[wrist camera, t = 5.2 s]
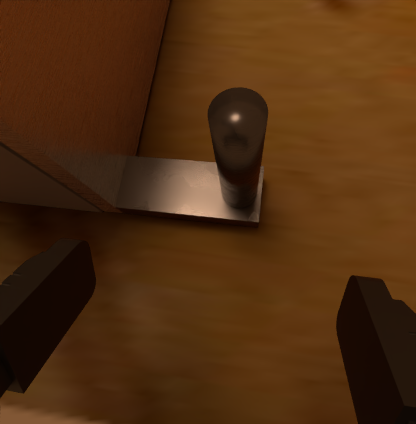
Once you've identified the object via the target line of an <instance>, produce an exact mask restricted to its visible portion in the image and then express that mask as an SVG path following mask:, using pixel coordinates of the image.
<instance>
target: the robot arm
mask: <svg viewBox="0 0 416 424" xmlns="http://www.w3.org/2000/svg"><path fill="white" fill-rule="evenodd" d="M95 285H96V277H95V272H94V267H93V262H92V257H91V252H90V247H89V244H88V243H87V242H86V241H82V240H74V239H66V238H61V239H59V240H58V241H57V242H56V243H55V244H54V245H52V246H51V247H50V248H49V249H48V250H47V251H46V252H42V253H40V254H38V255H36V256H34V257H32V258H30V259H29V260H27V261H25V262H24V263H23V264H22V265H21V266H20V267H19V268H18V269H16V270H15V271H14V272H13V275H10V276H9V277H8V278H6V279H5V280H4V281H3V282H2V285H0V398H1V396H2V395H3V394H4V393H5V391H6V390H9V391H13V392H18V393H23V394H24V392H25V391H26V390H27V388H28V387H29V385H30V384H31V382H32V381H33V380H34V378H35V377H36V375H37V374H38V372H39V371H40V370H41V368H42V367H43V365H44V364H45V362H46V361H47V360H48V358H49V357H50V355H51V354H52V352H53V351H54V350H55V348H56V347H57V345H58V344H59V342H60V341H61V340H62V338H63V337H64V335H65V334H66V332H67V331H68V330H69V328H70V327H71V325H72V324H73V322H74V321H75V320H76V318H77V317H78V315H79V314H80V312H81V311H82V310H83V308H84V307H85V305H86V304H87V302H88V301H89V300H90V298H91V297H92V295H93V292H94V289H95ZM336 329H337V336H338V341H339V345H340V349H341V353H342V358H343V362H344V366H345V370H346V375H347V379H348V383H349V387H350V391H351V396H352V400H353V404H354V408H355V413H356V417H357V421H358V424H416V314H415V313H414V312H413V311H412V310H411V309H410V308H409V307H408V306H407V305H406V304H405V303H404V302H403V301H402V300H394V299H392V297H391V295H390V293H389V291H388V289H387V287H386V285H385V283H384V281H383V280H382V279H378V278H370V277H362V276H354V275H352V276H351V277H350V278H349V280H348V283H347V286H346V289H345V293H344V296H343V299H342V302H341V305H340V308H339V311H338V315H337V322H336Z"/></svg>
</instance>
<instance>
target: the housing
mask: <svg viewBox="0 0 416 424" xmlns="http://www.w3.org/2000/svg"><path fill="white" fill-rule="evenodd" d="M0 202H9V203H18V204H27V205H37V206H46V207H55V208H65V209H74V210H83V211H93V212H102V213H103V210H102V209H100V208H99V207H97V206H96V205H94V204H93V203H91V202H90V201H88V200H87V199H85V198H84V197H82V196H81V195H79V194H78V193H76V192H75V191H73V190H72V189H70V188H69V187H67V186H66V185H64V184H63V183H61V182H60V181H58V180H57V179H55V178H54V177H52V176H51V175H49V174H48V173H46V172H45V171H43V170H42V169H41V168H39V167H38V166H36V165H35V164H33V163H32V162H30V161H29V160H27V159H26V158H24V157H23V156H21V155H20V154H18V153H17V152H15V151H14V150H12V149H11V148H9V147H8V146H6V145H5V144H3V143H2V142H0Z"/></svg>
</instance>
